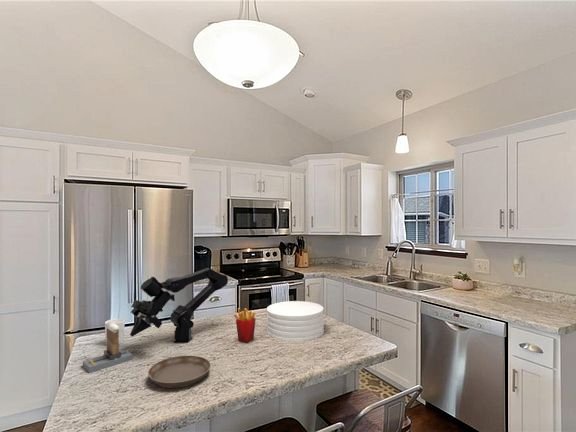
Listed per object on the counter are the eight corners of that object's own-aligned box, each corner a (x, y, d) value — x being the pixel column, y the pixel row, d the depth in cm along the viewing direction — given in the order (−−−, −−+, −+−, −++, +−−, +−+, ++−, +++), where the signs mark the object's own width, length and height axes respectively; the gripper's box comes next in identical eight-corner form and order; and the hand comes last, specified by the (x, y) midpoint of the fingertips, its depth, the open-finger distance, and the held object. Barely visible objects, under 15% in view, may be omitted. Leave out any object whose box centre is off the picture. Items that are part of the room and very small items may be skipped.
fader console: (124, 354, 130) (124, 348, 130) (132, 359, 125) (132, 354, 125) (82, 366, 119) (82, 360, 119) (89, 372, 114) (89, 367, 114)
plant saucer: (220, 366, 118) (220, 357, 118) (191, 395, 98) (191, 384, 98) (170, 361, 123) (170, 353, 123) (134, 388, 103) (134, 378, 103)
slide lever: (114, 351, 127) (114, 320, 127) (121, 356, 122) (121, 324, 123) (103, 354, 124) (103, 323, 124) (110, 359, 119) (110, 326, 120)
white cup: (104, 348, 137) (104, 324, 137) (105, 342, 144) (105, 320, 144) (124, 344, 141) (124, 322, 141) (124, 339, 148) (124, 317, 148)
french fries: (245, 336, 149) (245, 304, 149) (259, 340, 144) (258, 307, 144) (232, 342, 141) (231, 309, 142) (246, 346, 137) (245, 311, 137)
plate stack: (333, 327, 161) (332, 305, 161) (306, 345, 137) (305, 319, 137) (286, 319, 176) (286, 298, 176) (255, 334, 152) (255, 310, 152)
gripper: (135, 289, 139) (107, 320, 131) (154, 295, 126) (125, 329, 118) (153, 304, 145) (127, 334, 136) (173, 311, 132) (146, 345, 123)
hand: (130, 335), depth 128 cm, fingers closed
